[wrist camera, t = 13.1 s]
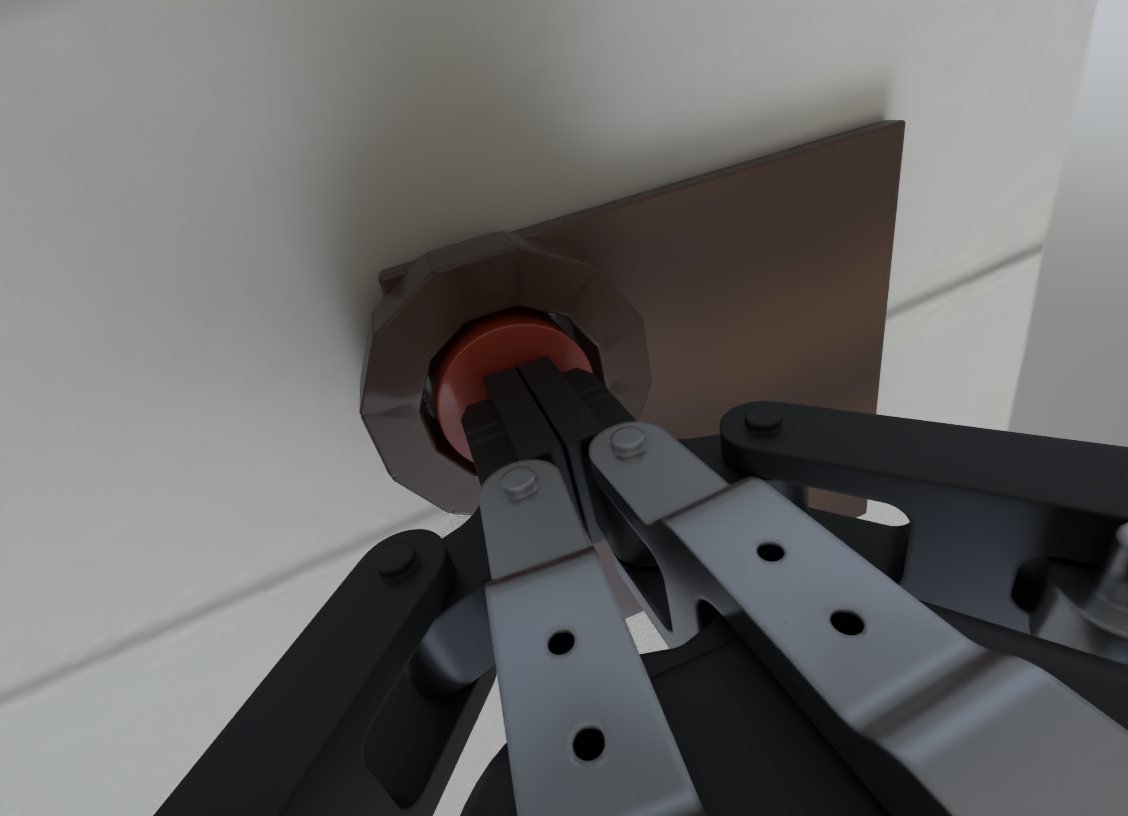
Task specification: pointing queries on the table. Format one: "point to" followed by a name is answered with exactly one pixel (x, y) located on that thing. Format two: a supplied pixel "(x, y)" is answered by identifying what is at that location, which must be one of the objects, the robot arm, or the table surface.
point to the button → (493, 361)
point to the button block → (664, 305)
